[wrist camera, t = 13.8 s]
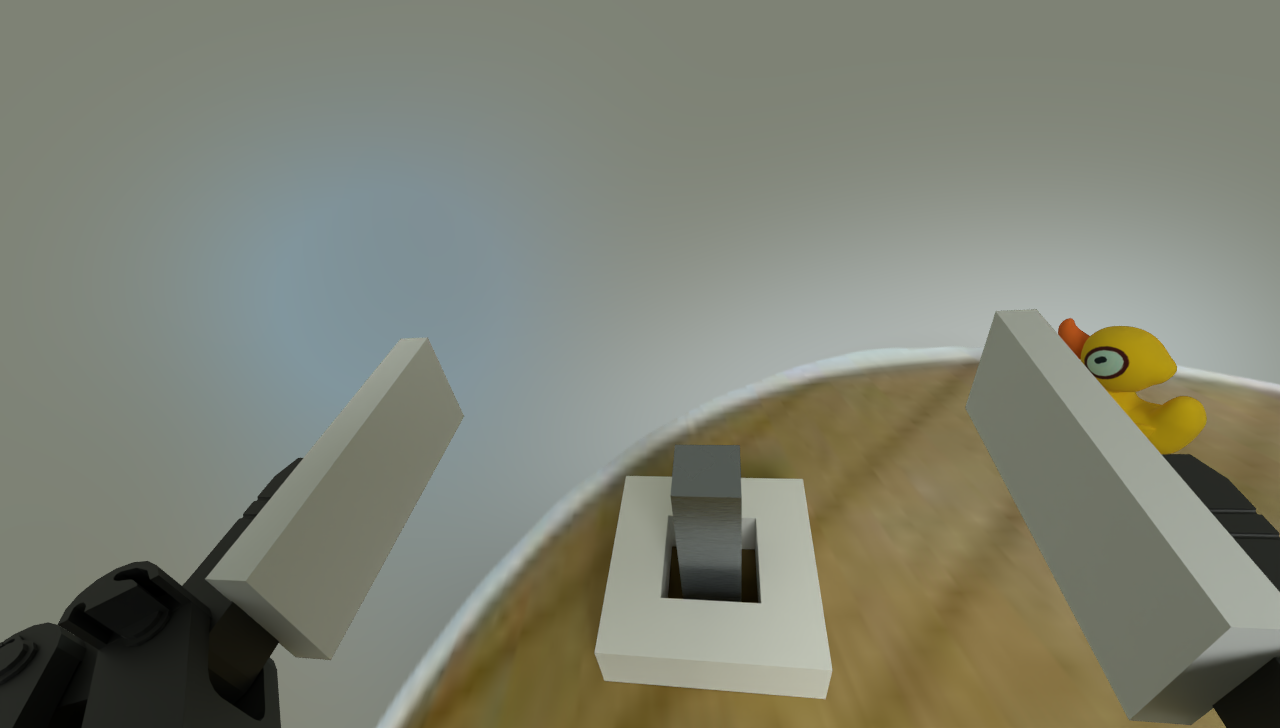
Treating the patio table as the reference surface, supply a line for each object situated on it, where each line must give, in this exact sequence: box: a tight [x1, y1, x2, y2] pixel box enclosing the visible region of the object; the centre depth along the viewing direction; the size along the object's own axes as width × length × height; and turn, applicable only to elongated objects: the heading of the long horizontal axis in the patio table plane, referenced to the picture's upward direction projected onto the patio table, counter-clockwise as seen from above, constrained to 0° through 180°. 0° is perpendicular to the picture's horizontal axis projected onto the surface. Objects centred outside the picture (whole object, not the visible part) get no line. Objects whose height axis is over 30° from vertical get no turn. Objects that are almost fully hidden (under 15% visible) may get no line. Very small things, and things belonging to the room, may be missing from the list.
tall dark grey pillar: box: [670, 445, 742, 602], centre depth 35 cm, size 4×4×13 cm
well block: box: [595, 476, 832, 699], centre depth 38 cm, size 14×14×4 cm
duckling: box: [1058, 318, 1207, 454], centre depth 44 cm, size 11×5×10 cm, turn 27°
